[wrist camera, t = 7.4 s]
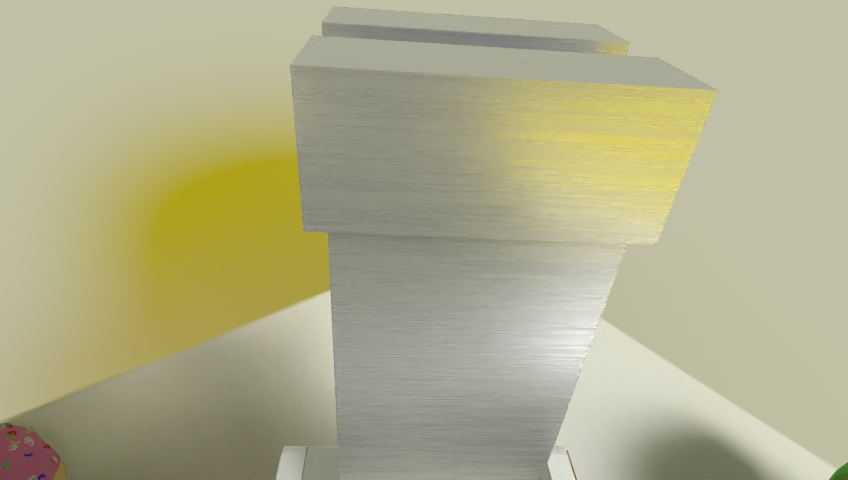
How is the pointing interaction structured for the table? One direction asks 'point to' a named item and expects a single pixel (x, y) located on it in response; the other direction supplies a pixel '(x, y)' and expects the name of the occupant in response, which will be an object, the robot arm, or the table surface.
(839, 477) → the snack cup
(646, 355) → the table surface
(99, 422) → the table surface
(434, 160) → the grey-capped white bar
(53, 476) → the cupcake
